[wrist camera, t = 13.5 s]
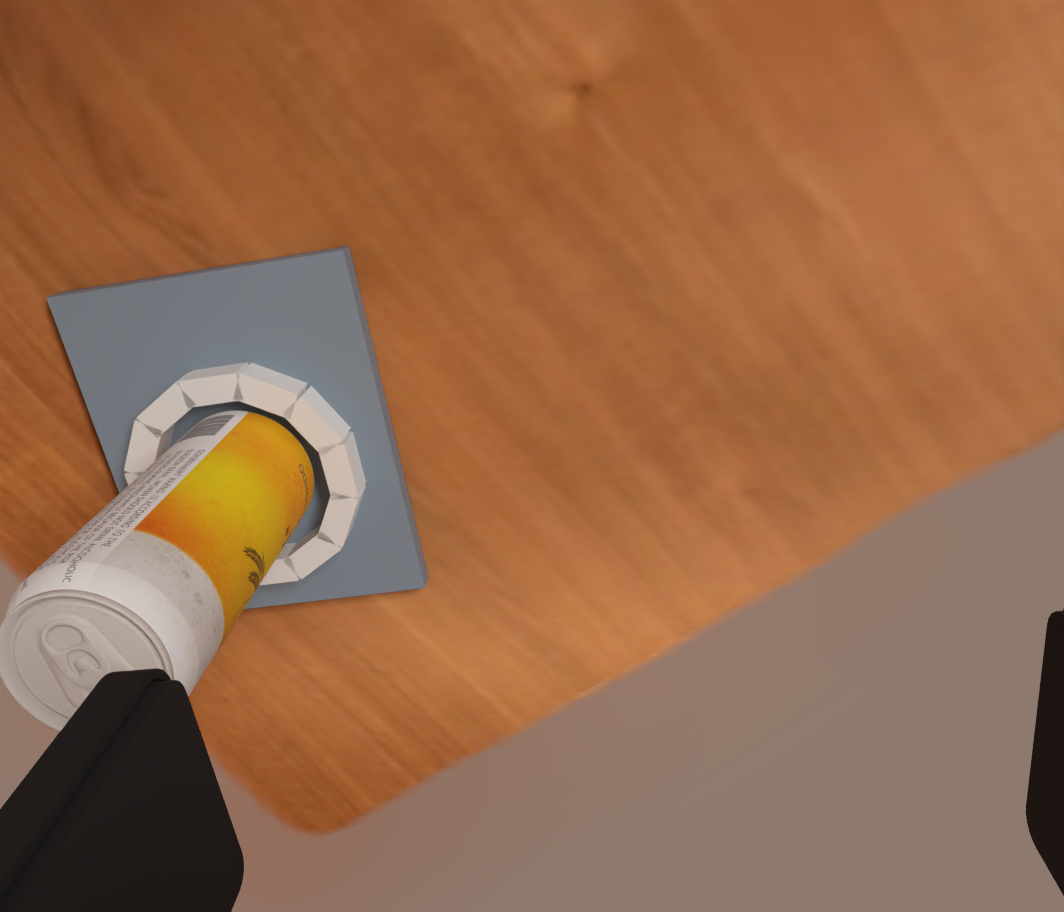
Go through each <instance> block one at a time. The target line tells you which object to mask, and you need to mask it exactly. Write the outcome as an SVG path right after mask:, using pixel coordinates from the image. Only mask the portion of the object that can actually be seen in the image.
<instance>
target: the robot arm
mask: <svg viewBox="0 0 1064 912" xmlns="http://www.w3.org/2000/svg"><path fill="white" fill-rule="evenodd" d="M1026 816H1027V823H1028V828H1029V832H1030V834H1031V837H1032V840H1033V842H1034V844H1035V846H1036V848H1037V850H1038V852H1039V854H1040V855H1041V857H1042V859H1043V861H1044V862H1045V864H1046V866H1047V867H1048V869H1049V871H1050V873H1051V874H1052V876H1053V878H1054V880H1055V881H1056V883H1057V885H1058V886H1059V888H1060V890H1061V892H1062V893H1063V895H1064V610H1063V611H1056V612H1053V613H1052V614H1051V616H1050V617H1049V619H1048V623H1047V630H1046V639H1045V648H1044V656H1043V665H1042V673H1041V682H1040V691H1039V699H1038V708H1037V717H1036V725H1035V734H1034V743H1033V751H1032V760H1031V768H1030V777H1029V786H1028V794H1027V803H1026ZM243 872H244V861H243V855H242V851H241V848H240V845H239V842H238V840H237V837H236V834H235V831H234V828H233V825H232V822H231V819H230V816H229V813H228V810H227V808H226V805H225V802H224V799H223V796H222V793H221V790H220V787H219V785H218V782H217V779H216V776H215V773H214V770H213V767H212V764H211V761H210V758H209V756H208V753H207V750H206V747H205V744H204V741H203V738H202V735H201V732H200V730H199V727H198V724H197V721H196V718H195V715H194V712H193V709H192V706H191V704H190V701H189V698H188V695H187V692H186V690H185V688H184V686H183V684H182V683H181V682H180V681H177V680H171V679H170V677H169V675H168V674H167V673H166V672H165V671H164V670H162V669H158V668H155V669H142V670H130V671H117V672H111V673H108V674H106V675H105V676H104V677H103V678H102V679H100V681H99V682H98V683H97V685H96V686H95V687H94V688H93V690H92V691H91V692H90V694H89V695H88V696H87V697H86V699H85V700H84V701H83V703H82V704H81V705H80V707H79V708H78V709H77V710H76V712H75V713H74V714H73V716H72V717H71V718H70V720H69V721H68V722H67V723H66V725H65V726H64V727H63V729H62V730H61V731H60V733H59V734H58V735H57V737H56V738H55V739H54V740H53V742H52V743H51V744H50V746H49V747H48V748H47V750H46V751H45V752H44V753H43V755H42V756H41V757H40V759H39V760H38V761H37V762H36V764H35V765H34V766H33V768H32V769H31V770H30V771H29V773H28V774H27V775H26V777H25V778H24V779H23V781H22V782H21V783H20V784H19V786H18V787H17V788H16V790H15V791H14V792H13V794H12V795H11V796H10V798H9V799H8V800H7V801H6V803H5V804H4V805H3V807H2V808H1V809H0V912H231V910H232V908H233V906H234V903H235V901H236V898H237V896H238V893H239V891H240V887H241V884H242V880H243Z"/></svg>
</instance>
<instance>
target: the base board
mask: <svg viewBox="0 0 1064 912" xmlns="http://www.w3.org/2000/svg"><path fill="white" fill-rule="evenodd" d="M47 301H48V304H49V306H50V309H51V312H52V314H53V317H54V320H55V322H56V325H57V328H58V330H59V333H60V336H61V339H62V341H63V344H64V347H65V349H66V352H67V355H68V357H69V360H70V363H71V365H72V368H73V371H74V373H75V376H76V379H77V381H78V384H79V387H80V389H81V392H82V395H83V397H84V400H85V403H86V405H87V408H88V411H89V413H90V416H91V419H92V421H93V424H94V427H95V429H96V432H97V435H98V437H99V440H100V443H101V445H102V448H103V451H104V453H105V456H106V459H107V462H108V464H109V467H110V470H111V472H112V475H113V478H114V480H115V483H116V486H117V488H118V491H119V494H120V493H121V492H122V491H123V490H124V489H125V488H126V487H128V486H129V485H130V484H131V483H132V482H133V481H134V480H135V479H136V478H137V477H139V476H140V475H141V474H142V473H143V472H144V471H145V470H146V469H147V468H148V467H150V466H151V465H152V464H153V463H154V462H155V461H156V460H157V459H158V458H159V457H161V456H162V455H163V454H164V453H165V452H166V451H167V450H168V449H169V448H171V447H172V446H173V445H174V444H175V443H176V442H177V441H178V440H179V439H180V438H182V437H183V436H184V435H185V434H186V433H187V432H188V431H189V430H190V429H191V428H193V427H194V426H195V425H196V424H197V423H198V422H200V421H201V420H203V419H204V418H206V417H208V416H210V415H213V414H216V413H220V412H224V411H248V412H253V413H257V414H260V415H263V416H266V417H268V418H270V419H272V420H274V421H276V422H277V423H279V424H281V425H282V426H283V427H285V428H286V429H287V430H288V431H289V432H291V433H292V434H293V435H294V436H295V437H296V439H297V440H298V441H299V442H300V443H301V445H302V446H303V448H304V449H305V451H306V453H307V455H308V457H309V459H310V462H311V465H312V468H313V474H314V492H313V496H312V500H311V502H310V505H309V507H308V509H307V510H306V512H305V514H304V515H303V517H302V518H301V520H300V522H299V523H298V525H297V526H296V528H295V529H294V531H293V533H292V534H291V536H290V537H289V539H288V541H287V542H286V544H285V545H284V547H283V548H282V550H281V552H280V553H279V555H278V556H277V558H276V559H275V561H274V563H273V564H272V566H271V567H270V569H269V571H268V572H267V574H266V575H265V577H264V578H263V580H262V582H261V583H260V585H259V586H258V588H257V590H256V591H255V593H254V594H253V596H252V597H251V599H250V601H249V602H248V604H247V605H246V607H245V608H244V609H250V608H258V607H267V606H275V605H284V604H293V603H301V602H310V601H318V600H327V599H336V598H344V597H353V596H361V595H370V594H378V593H387V592H396V591H404V590H413V589H421V588H425V586H426V583H427V580H428V574H427V570H426V566H425V561H424V557H423V553H422V549H421V545H420V540H419V536H418V532H417V528H416V524H415V520H414V515H413V511H412V507H411V503H410V499H409V495H408V490H407V486H406V482H405V478H404V474H403V469H402V465H401V461H400V457H399V453H398V449H397V444H396V440H395V436H394V432H393V428H392V423H391V419H390V415H389V411H388V407H387V403H386V398H385V394H384V390H383V386H382V382H381V377H380V373H379V369H378V365H377V361H376V357H375V352H374V348H373V344H372V340H371V336H370V331H369V327H368V323H367V319H366V315H365V311H364V306H363V302H362V298H361V294H360V290H359V285H358V281H357V277H356V273H355V269H354V265H353V260H352V256H351V252H350V248H349V246H344V247H338V248H332V249H326V250H320V251H313V252H307V253H301V254H295V255H289V256H282V257H276V258H270V259H264V260H258V261H251V262H245V263H239V264H233V265H227V266H220V267H214V268H208V269H202V270H196V271H189V272H183V273H177V274H171V275H165V276H159V277H152V278H146V279H140V280H134V281H128V282H121V283H115V284H109V285H103V286H97V287H90V288H84V289H78V290H72V291H66V292H59V293H57V294H54V295H52V296H50V297H47Z"/></svg>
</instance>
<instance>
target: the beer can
mask: <svg viewBox="0 0 1064 912" xmlns="http://www.w3.org/2000/svg"><path fill="white" fill-rule="evenodd" d="M313 492H314V474H313V468H312V465H311V462H310V459H309V457H308V455H307V453H306V451H305V449H304V448H303V446H302V445H301V443H300V442H299V441H298V440H297V439H296V437H295V436H294V435H293V434H292V433H291V432H289V431H288V430H287V429H286V428H285V427H283V426H282V425H281V424H279V423H277V422H276V421H274V420H272V419H270V418H268V417H266V416H263V415H260V414H257V413H253V412H248V411H224V412H220V413H216V414H213V415H210V416H208V417H206V418H204V419H203V420H201V421H200V422H198V423H197V424H196V425H195V426H194V427H193V428H191V429H190V430H189V431H188V432H187V433H186V434H185V435H184V436H183V437H182V438H180V439H179V440H178V441H177V442H176V443H175V444H174V445H173V446H172V447H171V448H169V449H168V450H167V451H166V452H165V453H164V454H163V455H162V456H161V457H159V458H158V459H157V460H156V461H155V462H154V463H153V464H152V465H151V466H150V467H148V468H147V469H146V470H145V471H144V472H143V473H142V474H141V475H140V476H139V477H137V478H136V479H135V480H134V481H133V482H132V483H131V484H130V485H129V486H128V487H126V488H125V489H124V490H123V491H122V492H121V493H120V494H119V495H118V496H117V497H115V498H114V499H113V500H112V501H111V502H110V503H109V504H108V505H107V506H106V507H104V508H103V509H102V510H101V511H100V512H99V513H98V514H97V515H96V516H95V517H93V518H92V519H91V520H90V521H89V522H88V523H87V524H86V525H85V526H84V527H82V528H81V529H80V530H79V531H78V532H77V533H76V534H75V535H74V536H73V537H71V538H70V539H69V540H68V541H67V542H66V543H65V544H64V545H63V546H62V547H60V548H59V549H58V550H57V551H56V552H55V553H54V554H53V555H52V556H51V557H49V558H48V559H47V560H46V561H45V562H44V563H43V564H42V565H41V566H40V567H38V568H37V569H36V570H35V571H34V572H33V573H32V574H31V575H30V576H29V577H27V578H26V579H25V580H24V581H23V582H22V583H21V584H20V585H19V586H18V587H17V589H16V590H15V591H14V592H13V594H12V596H11V597H10V599H9V602H8V604H7V607H6V610H5V615H4V620H3V622H2V624H1V626H0V677H1V679H2V681H3V683H4V685H5V686H6V688H7V690H8V691H9V693H10V694H11V695H12V697H13V698H14V699H15V700H16V701H17V702H18V703H19V705H21V707H22V708H23V709H25V710H26V711H27V712H28V713H29V714H30V715H32V716H33V717H35V718H36V719H37V720H39V721H40V722H42V723H44V724H45V725H47V726H49V727H51V728H53V729H55V730H57V731H59V732H60V731H61V730H62V729H63V727H64V726H65V725H66V723H67V722H68V721H69V720H70V718H71V717H72V716H73V714H74V713H75V712H76V710H77V709H78V708H79V707H80V705H81V704H82V703H83V701H84V700H85V699H86V697H87V696H88V695H89V694H90V692H91V691H92V690H93V688H94V687H95V686H96V685H97V683H98V682H99V681H100V679H102V678H103V677H104V676H105V675H106V674H108V673H111V672H117V671H130V670H142V669H155V668H158V669H162V670H164V671H165V672H166V673H167V674H168V675H169V677H170V679H171V680H177V681H180V682H181V683H182V684H183V686H184V688H185V690H186V692H187V695H188V697H189V695H190V694H191V692H192V691H193V689H194V688H195V686H196V684H197V683H198V681H199V680H200V678H201V676H202V675H203V673H204V672H205V670H206V669H207V667H208V665H209V664H210V662H211V661H212V659H213V657H214V656H215V654H216V653H217V651H218V650H219V648H220V646H221V645H222V643H223V642H224V640H225V639H226V637H227V635H228V634H229V632H230V631H231V629H232V627H233V626H234V624H235V623H236V621H237V620H238V618H239V616H240V615H241V613H242V612H243V610H244V608H245V607H246V605H247V604H248V602H249V601H250V599H251V597H252V596H253V594H254V593H255V591H256V590H257V588H258V586H259V585H260V583H261V582H262V580H263V578H264V577H265V575H266V574H267V572H268V571H269V569H270V567H271V566H272V564H273V563H274V561H275V559H276V558H277V556H278V555H279V553H280V552H281V550H282V548H283V547H284V545H285V544H286V542H287V541H288V539H289V537H290V536H291V534H292V533H293V531H294V529H295V528H296V526H297V525H298V523H299V522H300V520H301V518H302V517H303V515H304V514H305V512H306V510H307V509H308V507H309V505H310V502H311V500H312V496H313Z"/></svg>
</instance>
